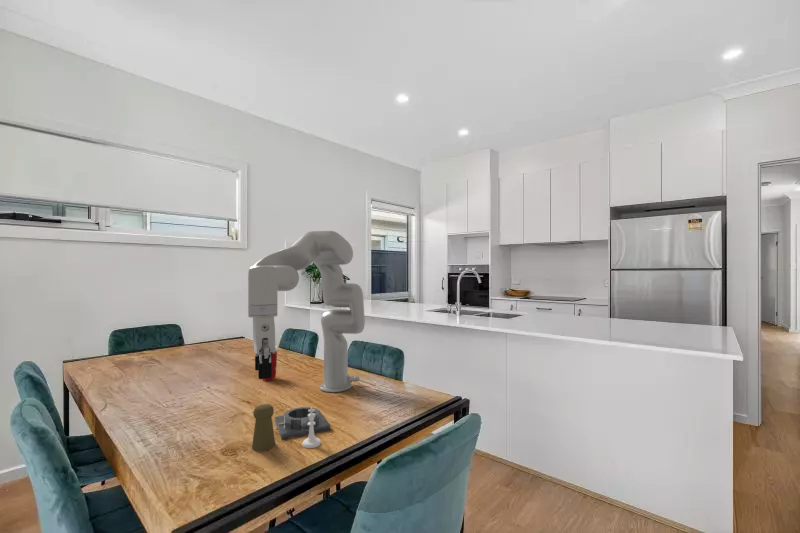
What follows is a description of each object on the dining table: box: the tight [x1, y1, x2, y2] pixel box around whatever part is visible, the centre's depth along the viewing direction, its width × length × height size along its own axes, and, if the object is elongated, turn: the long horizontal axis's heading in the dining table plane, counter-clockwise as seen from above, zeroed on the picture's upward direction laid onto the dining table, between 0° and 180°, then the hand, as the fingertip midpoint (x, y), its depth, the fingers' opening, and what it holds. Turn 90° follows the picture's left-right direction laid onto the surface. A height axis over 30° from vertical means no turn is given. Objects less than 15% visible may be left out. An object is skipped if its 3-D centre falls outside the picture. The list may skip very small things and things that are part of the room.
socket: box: [274, 406, 331, 440], centre depth 117 cm, size 14×14×4 cm
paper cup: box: [261, 345, 279, 382], centre depth 167 cm, size 8×8×14 cm
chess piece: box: [301, 406, 322, 449], centre depth 105 cm, size 5×5×10 cm
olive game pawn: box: [251, 403, 276, 452], centre depth 104 cm, size 6×6×11 cm
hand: (263, 373), depth 104 cm, fingers open, 9 cm apart
